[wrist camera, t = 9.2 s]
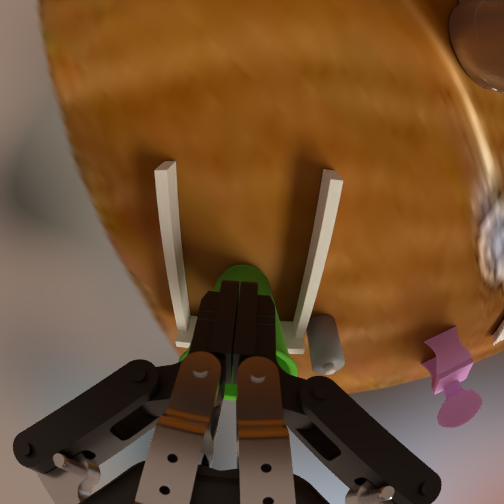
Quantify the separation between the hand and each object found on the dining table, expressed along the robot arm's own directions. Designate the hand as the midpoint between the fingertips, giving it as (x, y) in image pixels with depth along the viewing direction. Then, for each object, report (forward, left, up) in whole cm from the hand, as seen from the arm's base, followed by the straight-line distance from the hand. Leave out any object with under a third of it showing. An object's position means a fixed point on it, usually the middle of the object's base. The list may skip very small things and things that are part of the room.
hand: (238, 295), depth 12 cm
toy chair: (+23, +33, -13) cm, 43 cm away
